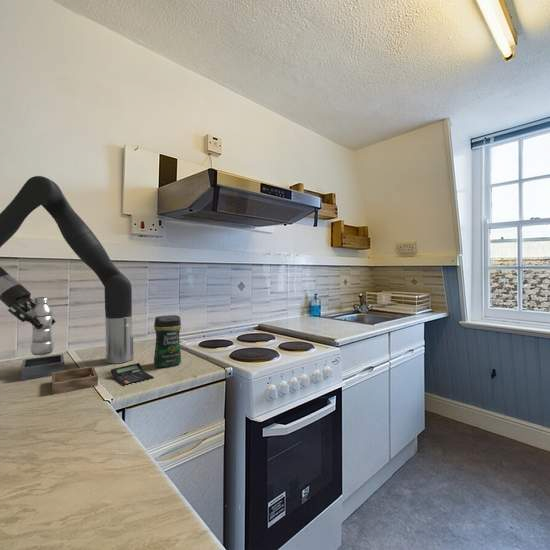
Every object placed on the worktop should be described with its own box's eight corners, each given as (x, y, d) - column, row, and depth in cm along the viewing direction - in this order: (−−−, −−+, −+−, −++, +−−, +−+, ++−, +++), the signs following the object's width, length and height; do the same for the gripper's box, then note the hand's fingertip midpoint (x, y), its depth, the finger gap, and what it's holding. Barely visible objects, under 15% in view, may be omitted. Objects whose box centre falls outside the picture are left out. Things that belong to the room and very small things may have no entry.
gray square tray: (63, 364, 118) (62, 354, 118) (64, 373, 109) (64, 362, 109) (23, 370, 111) (23, 359, 111) (21, 380, 102) (21, 368, 102)
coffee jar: (156, 369, 113) (156, 318, 113) (152, 363, 120) (151, 315, 119) (183, 365, 119) (183, 316, 118) (178, 359, 125) (177, 313, 125)
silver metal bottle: (41, 358, 106) (41, 299, 105) (25, 356, 107) (24, 298, 107) (58, 353, 112) (58, 297, 112) (42, 351, 114) (42, 296, 113)
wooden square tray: (93, 374, 108) (93, 366, 108) (97, 385, 99) (97, 376, 98) (52, 382, 101) (51, 372, 101) (52, 394, 92) (52, 384, 92)
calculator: (124, 387, 98) (124, 377, 98) (110, 377, 106) (110, 368, 106) (153, 379, 105) (153, 370, 105) (138, 370, 113) (138, 362, 113)
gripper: (2, 285, 101) (42, 321, 103) (32, 282, 115) (67, 314, 117) (-16, 301, 101) (25, 338, 102) (16, 296, 115) (51, 328, 117)
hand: (47, 325), depth 110 cm, fingers closed on silver metal bottle, 6 cm apart
